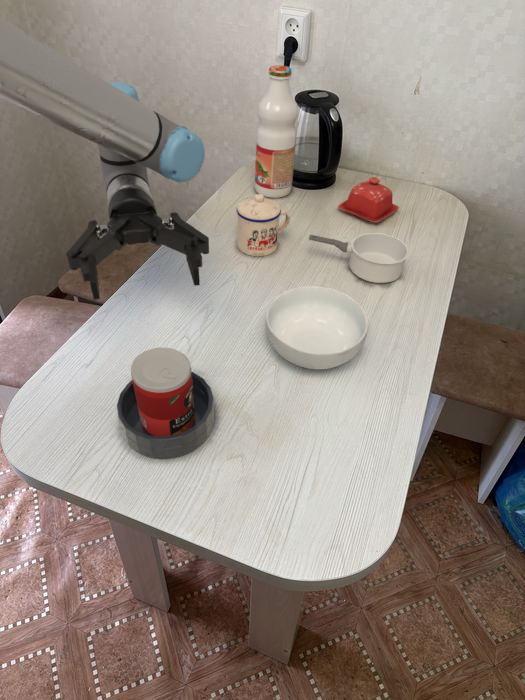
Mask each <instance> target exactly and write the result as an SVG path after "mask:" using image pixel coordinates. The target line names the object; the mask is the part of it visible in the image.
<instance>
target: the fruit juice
mask: <svg viewBox="0 0 525 700" xmlns="http://www.w3.org/2000/svg"><path fill="white" fill-rule="evenodd" d="M268 77H269V83H268V86H267V87H268V88H267V90H266V93H265V95H264V96H263V97H262V99H261V100H260V101H259V103H258V107H257V117H258V122H259V123H258V126H257V129H256V135H255V164H254V170H255V171H254V189H255V192H256V194H262V195H263V196H264V198H269V199H277V198H278V199H279V198H284V197H286V196H288V195H290V193H291V192H292V187H293V179H294V178H293V177H294V165H295V153H296V144H297V131H296V126H295V124H296V121H297V118H298V114H299V113H298V112H299V111H298V105H297V103H296V101H295V99H294V98H293V95H292V92H291V87H290V86H291V85H290V79H291V77H292V68H291V67H290V66H287V65H280V64H279V65H276V64H275V65H271V66H269V68H268Z"/></svg>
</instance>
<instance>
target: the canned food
mask: <svg viewBox="0 0 525 700" xmlns="http://www.w3.org/2000/svg"><path fill="white" fill-rule="evenodd" d="M130 366H131V367H130V374H131V375H130V376H131V381H133V386H134V391H135V396H136V401H137V406H138V411H139V415H140V420H141V424H142V426H143V427H144V429H145V430H146V431H147V433H149V434H150V435H151V436H170V435H175V434H180V433H182V432H184V431H186V430H188V429H190V428H191V427H192V425H193V422H194V419H195V410H194V396H193V382H192V372H193V371H192V365H191V361H190V360H189V358H188V357H187V356H186V355H185V354H184V353H183V352H181V351H180V350H177V349H175V348H171V347H154V348H150V349H147V350H145V351H143V352H141V353H140V354H139V355H137V356H136V357H135V359H134V360H133V361H132V364H131V365H130Z"/></svg>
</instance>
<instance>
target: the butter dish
mask: <svg viewBox="0 0 525 700" xmlns="http://www.w3.org/2000/svg"><path fill="white" fill-rule="evenodd" d="M380 181H381V180H380V179H379V178H378V177H374V176H371V177H369V178H368V180H366V181H361V182H360V183H358V184H356V185H355V186H353V187H352V189H351V190H350V192H349V194H348V197H347V199H346V200H343V202H341V203H339V204H338V206H337V208H338V209H339V210H341V211H344V212H346V213H349V214H351V215H354V216H356V217H359V218H360V219H363V220H365V221H368V222H370V223H375V224H377V223H380V222H381V221H384V219H386V218H388V217H389V216H390V215H392V214H394V213H395V212H397V211H398V210H399V209H400V207H399V205H397V204H394V203H393V191H392V190H391V189H390V188H389V187H387V186H386V185H383V184H382V183H380Z"/></svg>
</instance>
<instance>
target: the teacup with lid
mask: <svg viewBox="0 0 525 700" xmlns="http://www.w3.org/2000/svg"><path fill="white" fill-rule="evenodd" d="M235 211H236V214H237V225H236V227H237V229H236V231H237V232H236V233H237V238H236V242H237V244H236V245H237V248H238V249H239V251H240V252H242V253H243V254H245V255H248V256H253V257H265V256H269V255H271V254H273V253H274V252H275V251H276V250H277V248H278V241H279V234H280V233H283V232H284V231H285V230H286V229H287V228H288V227H289V225H290V222H291V215H290V213H289V211H287V210H285V209H281V206H280V205H279V204H278V202H276V201H275V200H273V199H272V198H269V197H265V196H263V195H262V194H259V193H256V194H255V195H254V197H247V198H245V199H243V200H241V201H240V202H239V203H238V204H237V206H236V210H235ZM280 216H285V220H284V222H283V224H282V225H281V226H279V224H280Z"/></svg>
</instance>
